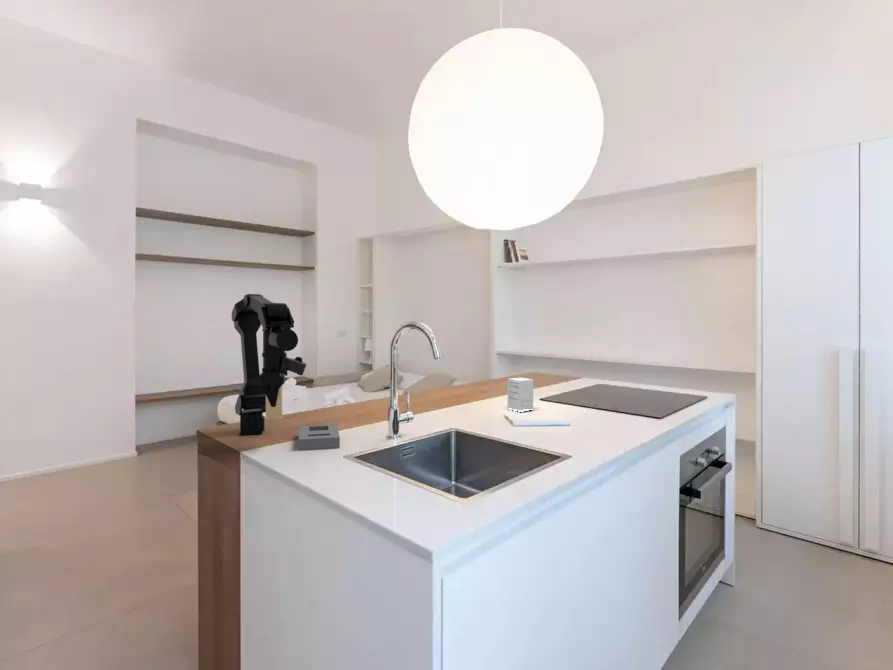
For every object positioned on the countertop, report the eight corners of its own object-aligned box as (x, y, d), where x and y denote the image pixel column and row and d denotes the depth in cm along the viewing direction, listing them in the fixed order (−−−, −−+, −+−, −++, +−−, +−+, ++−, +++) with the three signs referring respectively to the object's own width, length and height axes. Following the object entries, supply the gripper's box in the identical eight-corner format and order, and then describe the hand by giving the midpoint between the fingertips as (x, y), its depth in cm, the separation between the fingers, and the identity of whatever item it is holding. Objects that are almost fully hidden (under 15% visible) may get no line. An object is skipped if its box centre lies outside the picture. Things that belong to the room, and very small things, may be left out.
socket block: (298, 450, 132) (298, 439, 132) (299, 435, 147) (299, 426, 147) (339, 448, 135) (339, 437, 134) (337, 433, 150) (337, 424, 150)
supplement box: (520, 408, 196) (521, 377, 196) (533, 411, 190) (534, 379, 189) (506, 409, 192) (507, 378, 192) (519, 413, 186) (519, 380, 185)
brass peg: (265, 420, 131) (265, 383, 131) (267, 416, 135) (267, 381, 134) (281, 419, 132) (281, 382, 132) (282, 416, 136) (282, 380, 135)
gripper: (304, 351, 126) (303, 410, 126) (305, 346, 144) (305, 398, 144) (258, 351, 123) (258, 412, 123) (265, 346, 141) (265, 399, 141)
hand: (274, 405), depth 133 cm, fingers closed on brass peg, 4 cm apart
